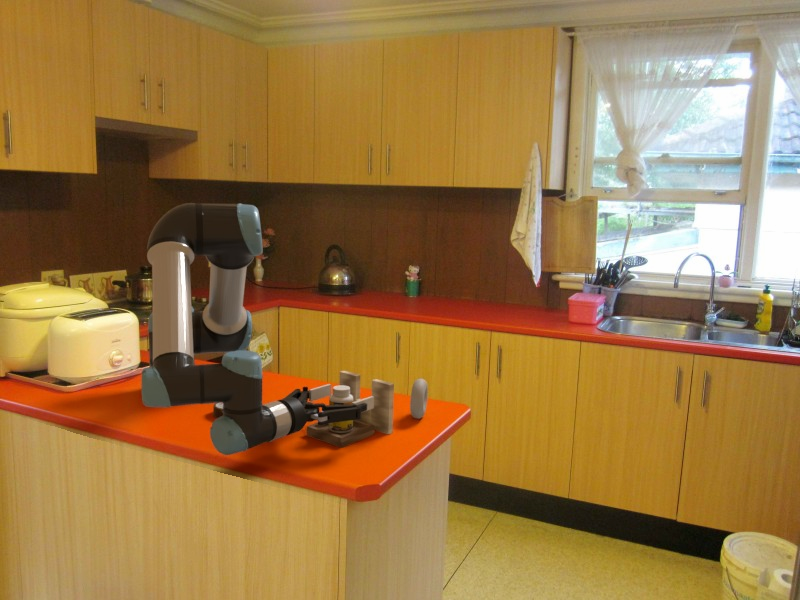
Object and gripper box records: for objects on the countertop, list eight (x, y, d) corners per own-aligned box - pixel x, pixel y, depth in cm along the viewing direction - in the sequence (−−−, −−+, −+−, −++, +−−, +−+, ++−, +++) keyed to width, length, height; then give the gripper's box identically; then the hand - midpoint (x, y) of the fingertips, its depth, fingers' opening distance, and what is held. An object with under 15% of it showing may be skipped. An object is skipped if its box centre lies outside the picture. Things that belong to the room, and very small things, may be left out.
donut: (422, 424, 160) (423, 385, 158) (408, 423, 160) (409, 384, 159) (428, 411, 170) (429, 374, 168) (414, 410, 170) (416, 373, 169)
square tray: (306, 435, 151) (306, 426, 151) (339, 423, 159) (340, 414, 159) (341, 447, 144) (341, 438, 144) (374, 434, 153) (374, 425, 152)
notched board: (339, 418, 163) (339, 371, 161) (343, 417, 164) (343, 370, 162) (388, 434, 153) (389, 384, 151) (392, 432, 154) (393, 383, 152)
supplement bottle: (329, 435, 148) (330, 391, 147) (327, 426, 154) (328, 384, 152) (354, 434, 149) (354, 390, 148) (351, 425, 155) (352, 383, 153)
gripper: (243, 421, 145) (313, 399, 161) (323, 451, 129) (391, 423, 146) (243, 388, 143) (313, 370, 160) (323, 414, 128) (392, 391, 145)
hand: (350, 395), depth 153 cm, fingers open, 13 cm apart
